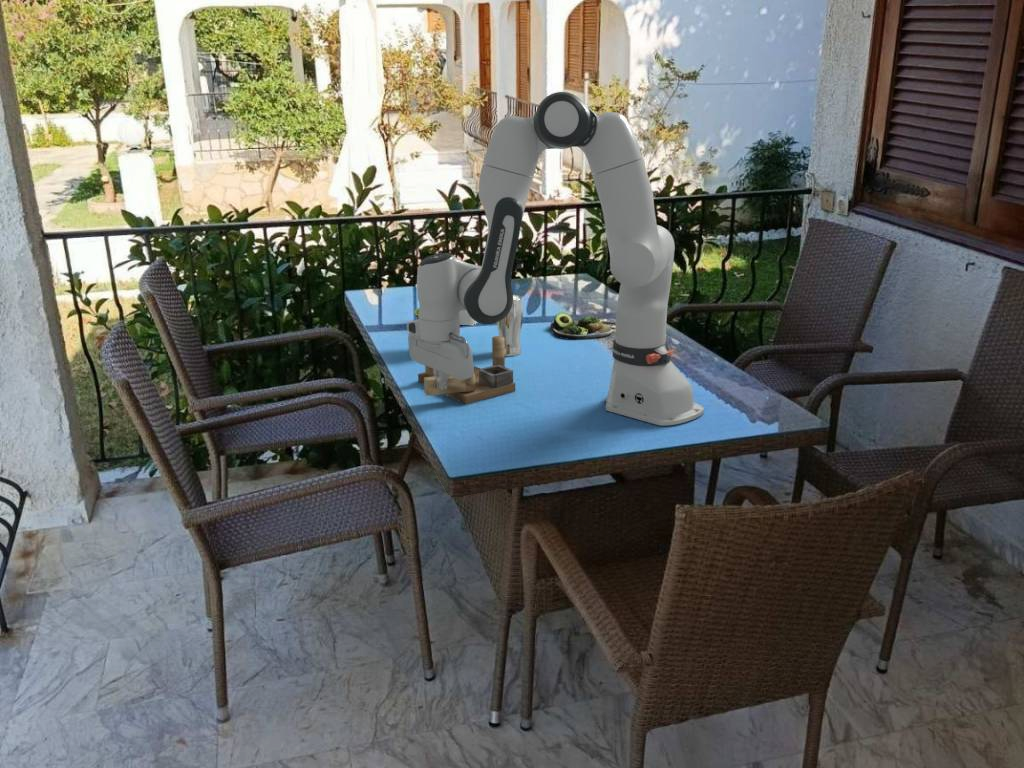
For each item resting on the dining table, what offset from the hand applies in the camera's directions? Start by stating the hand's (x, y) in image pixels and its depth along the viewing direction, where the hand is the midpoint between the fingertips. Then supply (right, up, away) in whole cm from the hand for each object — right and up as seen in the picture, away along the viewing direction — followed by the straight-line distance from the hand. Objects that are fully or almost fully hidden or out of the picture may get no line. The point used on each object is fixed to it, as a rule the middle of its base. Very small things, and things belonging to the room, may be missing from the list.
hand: (442, 388), depth 206 cm
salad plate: (+35, +16, +57) cm, 68 cm away
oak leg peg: (+12, +4, +22) cm, 26 cm away
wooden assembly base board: (+5, 0, +13) cm, 14 cm away
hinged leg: (+2, -1, +3) cm, 4 cm away
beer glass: (+15, +9, +38) cm, 41 cm away
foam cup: (+2, +19, +65) cm, 68 cm away
